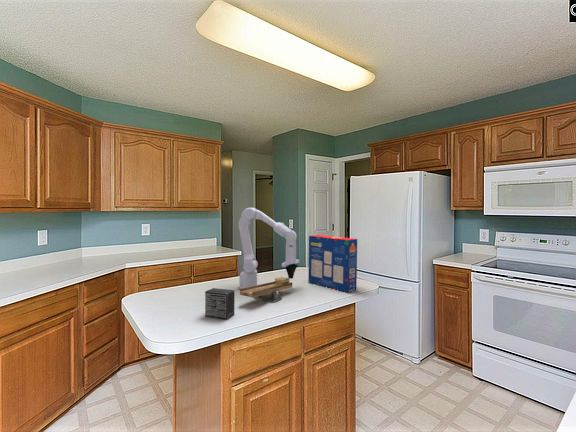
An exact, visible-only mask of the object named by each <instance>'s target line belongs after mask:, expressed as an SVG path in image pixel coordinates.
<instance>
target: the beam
mask: <svg viewBox="0 0 576 432" xmlns="http://www.w3.org/2000/svg"><path fill="white" fill-rule="evenodd" d="M291 288H293V282H289V283H287V284H282V285H276V284H275V280H274V281H271V282H265V283H261V284H257V285H256V286H251V287H247V288H242V289H240V288H239V295H240V296H243V297H249V298H252V299H254V297H258V296H262V295H265V294H269V293H273V291H274V290H279V292H281V291H285V290H287V289H291Z"/></svg>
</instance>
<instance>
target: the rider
mask: <svg viewBox="0 0 576 432" xmlns="http://www.w3.org/2000/svg"><path fill="white" fill-rule="evenodd" d="M274 281H275V284H276V285H282V284H287V283H290V278H288V277H283V276H280V277H275V278H274Z"/></svg>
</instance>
